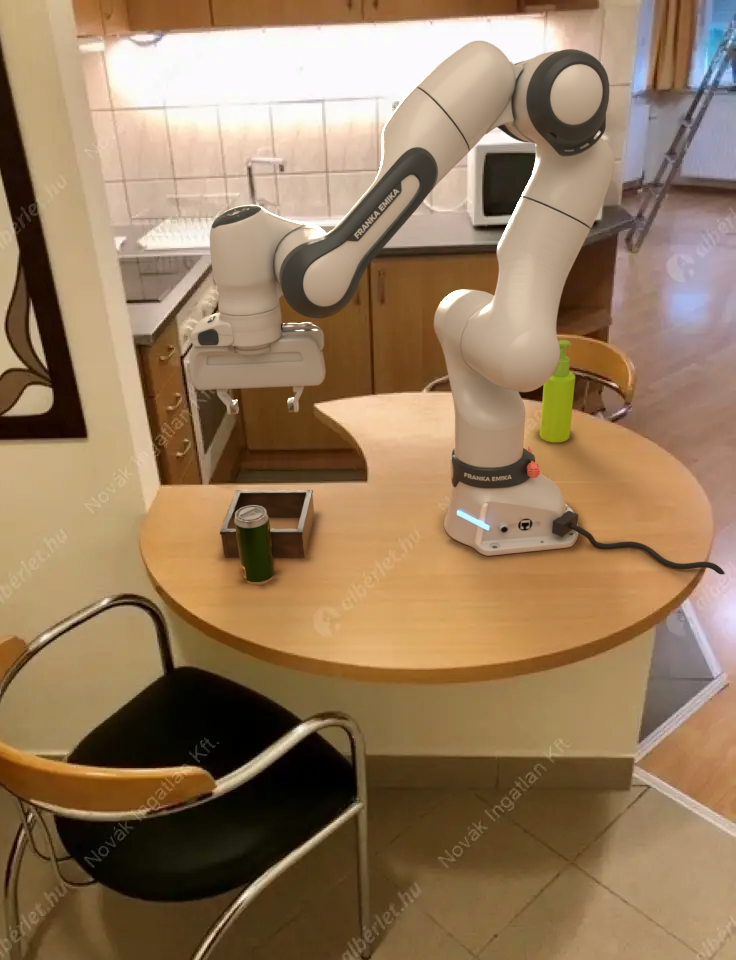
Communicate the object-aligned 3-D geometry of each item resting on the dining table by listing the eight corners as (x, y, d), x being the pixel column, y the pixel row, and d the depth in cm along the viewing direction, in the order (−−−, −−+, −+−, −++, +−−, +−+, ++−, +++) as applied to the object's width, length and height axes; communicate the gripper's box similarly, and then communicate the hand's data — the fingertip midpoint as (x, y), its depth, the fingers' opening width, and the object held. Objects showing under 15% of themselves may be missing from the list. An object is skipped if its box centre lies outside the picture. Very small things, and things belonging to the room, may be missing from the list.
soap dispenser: (529, 433, 176) (536, 340, 165) (560, 427, 177) (568, 334, 166) (544, 445, 171) (551, 349, 160) (574, 439, 172) (584, 344, 162)
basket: (314, 515, 154) (312, 489, 151) (305, 558, 142) (302, 532, 139) (239, 515, 155) (236, 489, 152) (223, 558, 144) (219, 531, 141)
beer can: (252, 590, 135) (243, 526, 129) (236, 574, 139) (227, 512, 133) (281, 578, 138) (274, 514, 131) (265, 563, 142) (257, 500, 135)
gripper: (324, 314, 126) (332, 400, 133) (189, 321, 128) (204, 405, 136) (320, 329, 121) (328, 418, 128) (179, 336, 123) (195, 423, 130)
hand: (263, 411), depth 132 cm, fingers open, 8 cm apart
